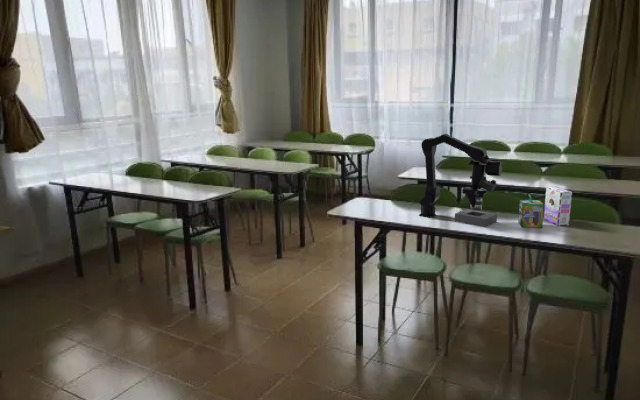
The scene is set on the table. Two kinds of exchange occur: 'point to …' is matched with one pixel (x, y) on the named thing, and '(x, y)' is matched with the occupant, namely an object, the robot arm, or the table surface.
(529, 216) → the chalk box
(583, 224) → the table surface
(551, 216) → the candy box
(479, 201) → the lens
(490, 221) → the camera body
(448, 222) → the table surface
